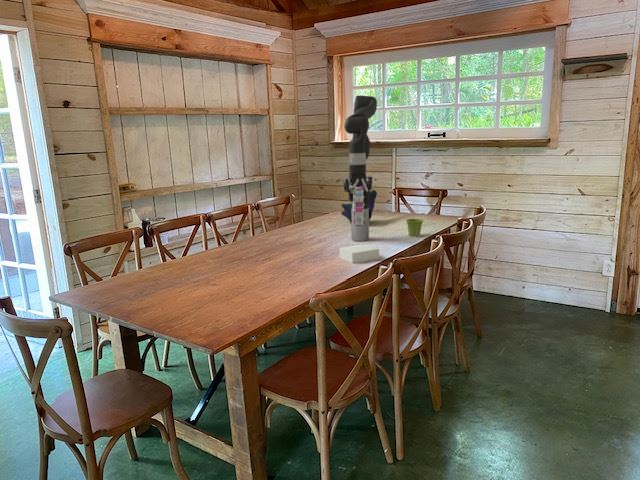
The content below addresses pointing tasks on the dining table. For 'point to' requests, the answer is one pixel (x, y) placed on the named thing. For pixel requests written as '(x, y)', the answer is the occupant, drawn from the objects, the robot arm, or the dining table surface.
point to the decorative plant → (347, 207)
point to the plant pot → (414, 226)
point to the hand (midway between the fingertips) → (358, 200)
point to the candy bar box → (358, 207)
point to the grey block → (359, 253)
